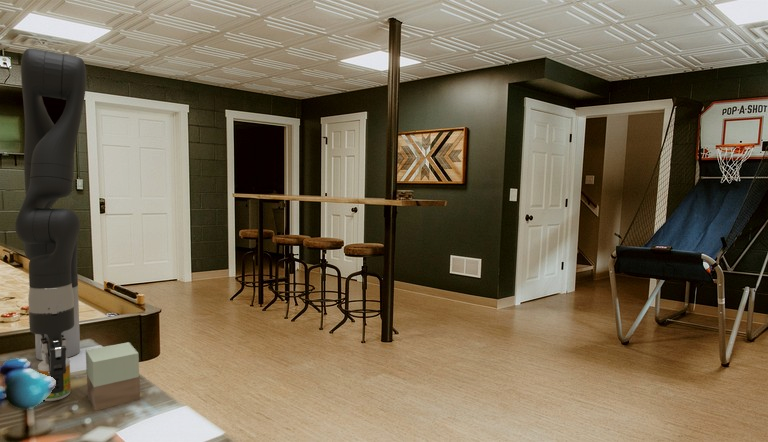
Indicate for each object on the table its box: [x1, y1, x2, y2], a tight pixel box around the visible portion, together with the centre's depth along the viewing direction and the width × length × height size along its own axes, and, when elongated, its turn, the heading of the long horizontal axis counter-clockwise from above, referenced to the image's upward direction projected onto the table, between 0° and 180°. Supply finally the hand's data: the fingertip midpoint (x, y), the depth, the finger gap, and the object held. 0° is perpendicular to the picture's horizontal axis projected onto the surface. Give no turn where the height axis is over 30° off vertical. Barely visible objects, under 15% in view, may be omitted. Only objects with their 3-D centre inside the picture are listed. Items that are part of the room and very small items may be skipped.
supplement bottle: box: [37, 351, 72, 402], centre depth 99 cm, size 5×5×10 cm
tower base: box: [86, 374, 141, 412], centre depth 99 cm, size 8×8×5 cm
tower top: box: [85, 341, 140, 387], centre depth 99 cm, size 8×8×5 cm
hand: (54, 386), depth 99 cm, fingers closed on supplement bottle, 5 cm apart
